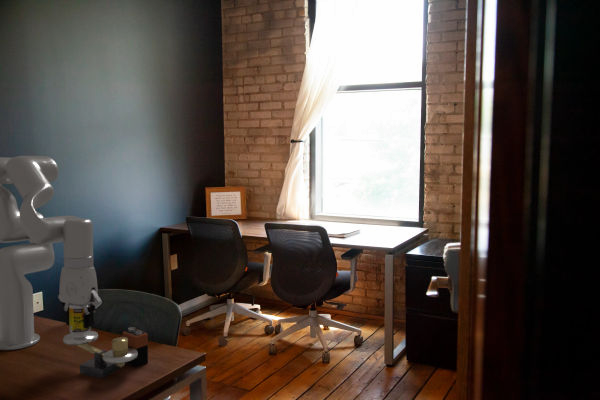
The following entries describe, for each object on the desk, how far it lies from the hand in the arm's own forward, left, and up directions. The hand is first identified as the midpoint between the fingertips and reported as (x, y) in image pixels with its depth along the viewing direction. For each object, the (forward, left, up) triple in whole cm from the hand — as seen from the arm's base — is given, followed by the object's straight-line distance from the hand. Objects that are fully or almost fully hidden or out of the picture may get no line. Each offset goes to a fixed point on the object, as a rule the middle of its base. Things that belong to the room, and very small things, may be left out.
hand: (80, 324), depth 136 cm
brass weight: (+14, 0, -6) cm, 16 cm away
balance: (+7, 0, -12) cm, 14 cm away
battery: (+12, +8, -13) cm, 19 cm away
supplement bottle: (0, 0, -2) cm, 2 cm away
